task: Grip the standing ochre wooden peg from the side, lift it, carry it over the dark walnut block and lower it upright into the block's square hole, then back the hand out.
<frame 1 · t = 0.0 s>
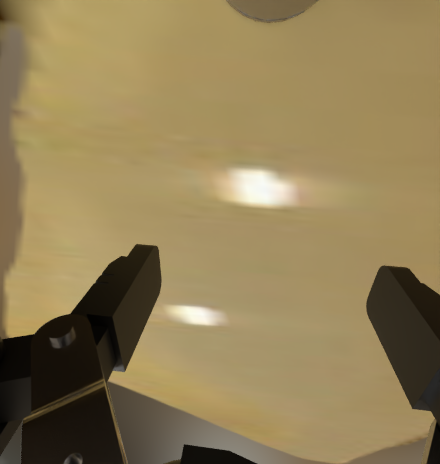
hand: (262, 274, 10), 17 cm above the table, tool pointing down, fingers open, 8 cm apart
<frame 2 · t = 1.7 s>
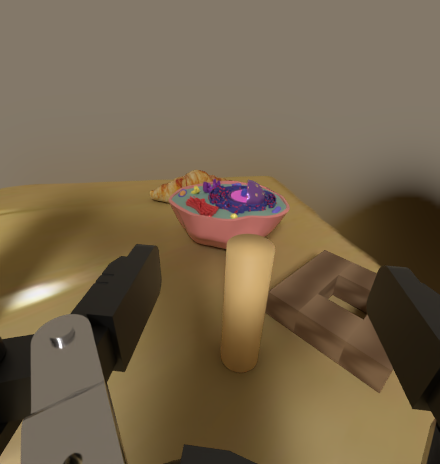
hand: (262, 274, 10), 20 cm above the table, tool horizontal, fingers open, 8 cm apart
peg: (239, 355, 30), on the table
hole block: (342, 315, 35), on the table
croissant: (193, 198, 68), on the table
cell model: (226, 240, 51), on the table
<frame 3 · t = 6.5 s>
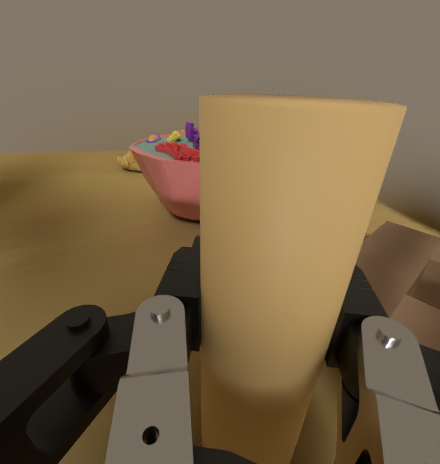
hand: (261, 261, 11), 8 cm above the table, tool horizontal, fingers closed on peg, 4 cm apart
peg: (245, 440, 13), on the table, touching gripper
croissant: (179, 168, 51), on the table
cell model: (222, 215, 34), on the table
when the fingers open (9 cm above the table, at t = 12.3 s): peg drops 1 cm, resting in hole block.
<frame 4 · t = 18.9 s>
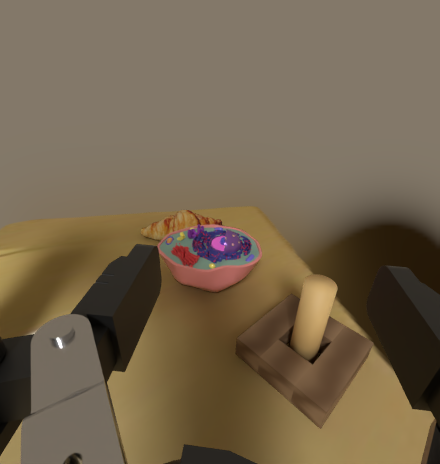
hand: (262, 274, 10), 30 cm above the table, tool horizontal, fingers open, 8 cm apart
peg: (301, 356, 42), resting in hole block
hole block: (301, 356, 42), on the table
croissant: (182, 234, 74), on the table
cell model: (209, 279, 57), on the table
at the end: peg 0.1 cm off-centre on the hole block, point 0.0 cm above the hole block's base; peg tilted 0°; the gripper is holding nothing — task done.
